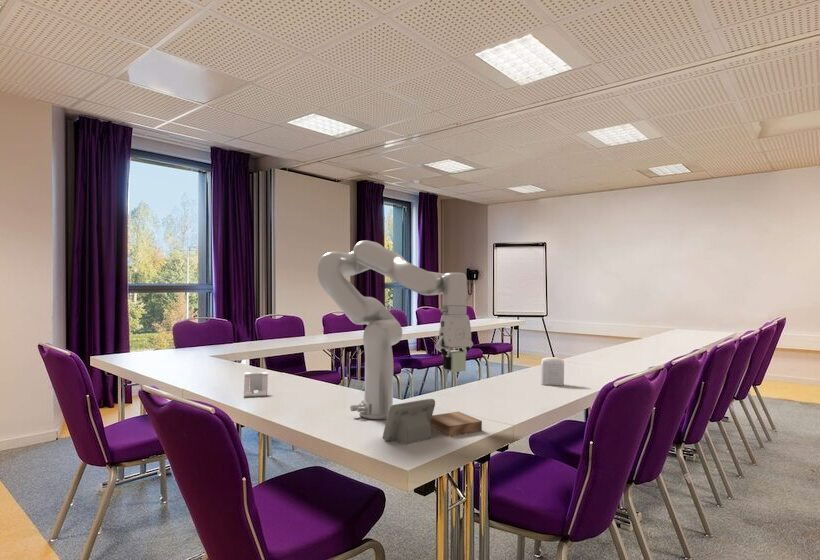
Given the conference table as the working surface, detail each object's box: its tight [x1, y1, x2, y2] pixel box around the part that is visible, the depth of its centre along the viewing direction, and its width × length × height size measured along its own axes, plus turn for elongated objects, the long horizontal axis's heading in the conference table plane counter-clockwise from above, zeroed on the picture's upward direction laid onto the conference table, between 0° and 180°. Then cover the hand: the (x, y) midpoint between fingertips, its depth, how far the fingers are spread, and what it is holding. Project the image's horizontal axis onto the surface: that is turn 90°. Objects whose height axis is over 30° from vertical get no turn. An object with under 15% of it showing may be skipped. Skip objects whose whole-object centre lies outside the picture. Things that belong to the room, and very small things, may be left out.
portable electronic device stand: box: [243, 371, 269, 398], centre depth 186 cm, size 9×8×8 cm
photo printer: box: [540, 356, 565, 387], centre depth 215 cm, size 10×4×12 cm, turn 87°
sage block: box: [442, 349, 467, 373], centre depth 152 cm, size 5×5×6 cm
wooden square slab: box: [430, 411, 483, 437], centre depth 146 cm, size 12×12×3 cm
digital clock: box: [382, 398, 436, 445], centre depth 136 cm, size 16×9×11 cm, turn 116°
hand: (454, 367), depth 152 cm, fingers closed on sage block, 5 cm apart
